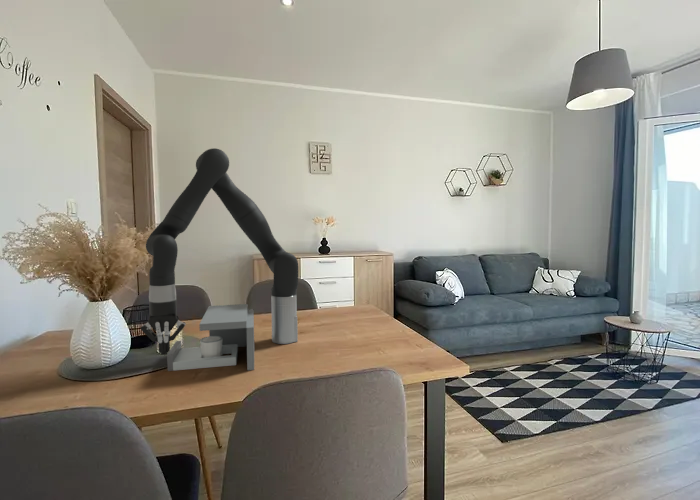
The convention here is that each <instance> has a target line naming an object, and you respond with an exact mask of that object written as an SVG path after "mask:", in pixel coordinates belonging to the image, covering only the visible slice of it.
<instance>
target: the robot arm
mask: <svg viewBox="0 0 700 500" xmlns="http://www.w3.org/2000/svg"><path fill="white" fill-rule="evenodd" d="M229 168H230V159H229V157H228V155H227V153H226V152H225V151H223V150H222V149H220V148H213V147H212V148H209V149H206V150H204V152H202V153H201V154H200V155H199V156H198V157H197V159H196V161H195V169H196V172H195V174H194V176H193V177H192V179H191V180H190V182H189V184H188V185H187V186H186V187H185V188H184V190H183V191H182V192H181V193H180V195H179V196H178V197H177V199H176V200H175V201H174V202H173V204H172V205H171V207H170V208H169V210H168V212H167V213H166V214H165V217H164V218H163V220H162V221H161V222H160V223H159V224H158V225H157V226H156V227H155V229H154V230H153V231H152V232H151V233H150V235H148V238H147V240H146V243H145V250H146V251H147V253H148V254H149V255H150V256H152V257H153V259H152V266H151V267H150V269H149V272H148V274H149V276H148V277H149V288H148V289H149V290H148V301H149V304H148V305H149V306H148V307H149V308H148V309H149V317H148V320H147V322H146V323H145V324H143V325H141V327H140V330H141V331H142V332H143V334H145V335H146V336H147V338H148V339H150V340H151V341H152V342H156V343H158V353H160V354H161V355H167V354H168V353H169V351H170V350H171V345H170V344H171V343H170V342H171V341H174V340H175V339H176V338H177V337H178V335H179V334H180V333H181V332H182V330H183V329H185V328H184V327H186V322H185V321H184V322H183V321H181V320H179V316H178V313H177V312H178V311H177V289H176V272H175V270H176V269H175V268H176V265H177V258H178V251H179V250H178V244H177V241H176V239H177V237H178V236H179V235H180V234H182V233H184V232H185V231H186V230H187V229H188V226H189V225H190V224H191V223H192V220H193V219H194V217H196V216H195V215H196V214H197V212H198V210H199V209H200V207H201V205H202V204H203V202H204V200H205V198H207V195H208V194H209V193H210V191H211V190H212V191H213V192H214V194H216V195H217V197H218V198H219V199H220V201H221V202H222V204H223V206H224V207H225V209H226V210H227V211H228V212H229V215H231V216H232V218H233V220H234V221H235V222H236V224H237V225H238V226H239V228H240V229H241V231H243V233H244V234H245V235H246V237H247V238H248V239H249V241H250V242H252V244H253V245H254V246H255V247H256V248H257V250H258V251H259V252H260V254H261V256H262V258H263V260H265V262H266V264H267V266H268V268H269V269H270V271H271V272H272V273H273V284H272V287H271V289H270V293H271V294H270V296H271V299H270V300H271V301H270V302H271V303H270V304H271V342H272V343H274V344H277V345H278V344H279V345H280V344H281V345H287V344H292V343H297V342H299V341H298V339H299V338H298V337H299V336H298V334H299V333H298V331H299V330H298V328H299V327H298V314H297V313H298V312H297V301H298V300H297V290H298V287H299V262H298V261H299V260H298V259H297V257H296V256H295V255H294V254H293V253H290V252H288V251H286V250H285V249H284V248H283V247H282V246H281V245H280V243H279V242H278V241H277V240H276V238H275V236H274V235H273V232H272V230H271V227H270V225H269V223H268V221H267V218H266V217H265V215H264V214H263V212H262V211H261V209H260V208H259V207H258V205H257V203H256V202H255V201H254V200H253V199H252V198H251V197H249V196H248V195H247V194H246V193H244V192H243V191H242V190H241V189H240V188H238V186H236V185H235V182H233V180H232V179H231V177H230V176H229V174H228V173H227V172H228V171H229ZM174 327H176V328H177V329H175V331H174V333H172V334H171V331H172V330H173V328H174ZM151 328H152V329H153V330H154V331H156V333H155V332H154V331H153V330H152V329H151Z"/></svg>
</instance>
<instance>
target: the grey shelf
mask: <svg viewBox="0 0 700 500" xmlns="http://www.w3.org/2000/svg"><path fill="white" fill-rule="evenodd" d="M254 316H255V315H254V308H249V306H248V303H239V304H223V305H222V304H221V305H220V304H219V305H218V304H217V305H209V306H208V307H207V308H206V311H205V313H204V315H203V317H202V318H201V320H200V322H199V332H204V331H206V332H207V331H209V334H208V335H209V336H220V337H222V338H223V341H222V345H230V344H238V348H243V347H246V363H247V364H246V367H247V369H246V370H247V371H255V317H254ZM209 336H208V337H209Z"/></svg>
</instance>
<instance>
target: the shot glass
mask: <svg viewBox="0 0 700 500" xmlns="http://www.w3.org/2000/svg"><path fill="white" fill-rule="evenodd" d="M222 341H223V338H222V337H220V336H206V337H202V338H200V340H199V345H200V346H199V347H201V353H202V358H205V357H217V356H223V354H222Z"/></svg>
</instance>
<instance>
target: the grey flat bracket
mask: <svg viewBox="0 0 700 500" xmlns="http://www.w3.org/2000/svg"><path fill="white" fill-rule="evenodd" d="M238 353H239V347H238V344H230V345H222V355H221V356H217V357H205V358H202V353H201V346H194V347H193V346H192V347H190V346H189V347H182V340H176V341H175V342H174V343H173V345H172V347H170V350H169V352H168V353H167V354H166V360H167V361H166V363H167V372H171V371H173V372H175V371H182V370H185V371H186V370H195V369H205V368H208V369H209V368H218V367H228V366H231V367H232V366H237V362H238V356H239V355H238ZM229 354H231V355H229Z"/></svg>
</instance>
